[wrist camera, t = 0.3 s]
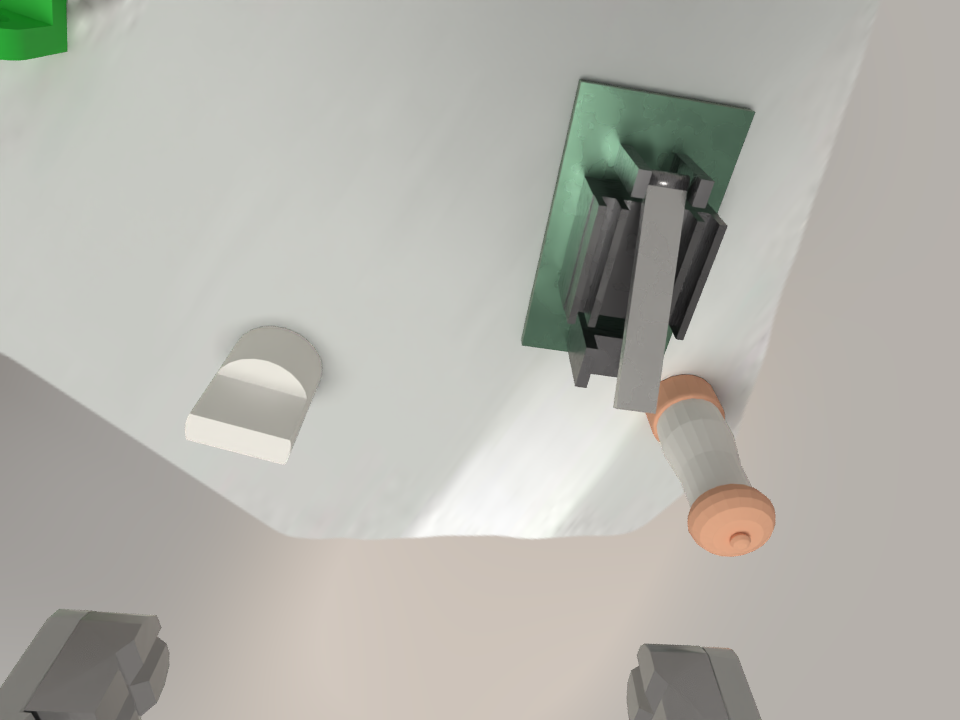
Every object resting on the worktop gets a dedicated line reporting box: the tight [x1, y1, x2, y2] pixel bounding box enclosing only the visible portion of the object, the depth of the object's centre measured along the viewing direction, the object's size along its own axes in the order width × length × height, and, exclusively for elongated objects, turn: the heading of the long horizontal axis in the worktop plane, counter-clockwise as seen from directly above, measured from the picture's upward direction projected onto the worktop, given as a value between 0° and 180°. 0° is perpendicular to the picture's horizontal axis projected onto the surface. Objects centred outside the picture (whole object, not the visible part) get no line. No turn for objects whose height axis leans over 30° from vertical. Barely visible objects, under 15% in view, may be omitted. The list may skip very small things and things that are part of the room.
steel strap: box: [613, 169, 690, 414], centre depth 46 cm, size 18×3×1 cm
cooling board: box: [521, 79, 755, 388], centre depth 52 cm, size 24×14×9 cm, turn 172°
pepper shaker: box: [646, 375, 775, 557], centre depth 57 cm, size 7×7×19 cm
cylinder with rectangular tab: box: [185, 326, 322, 465], centre depth 58 cm, size 9×9×12 cm
